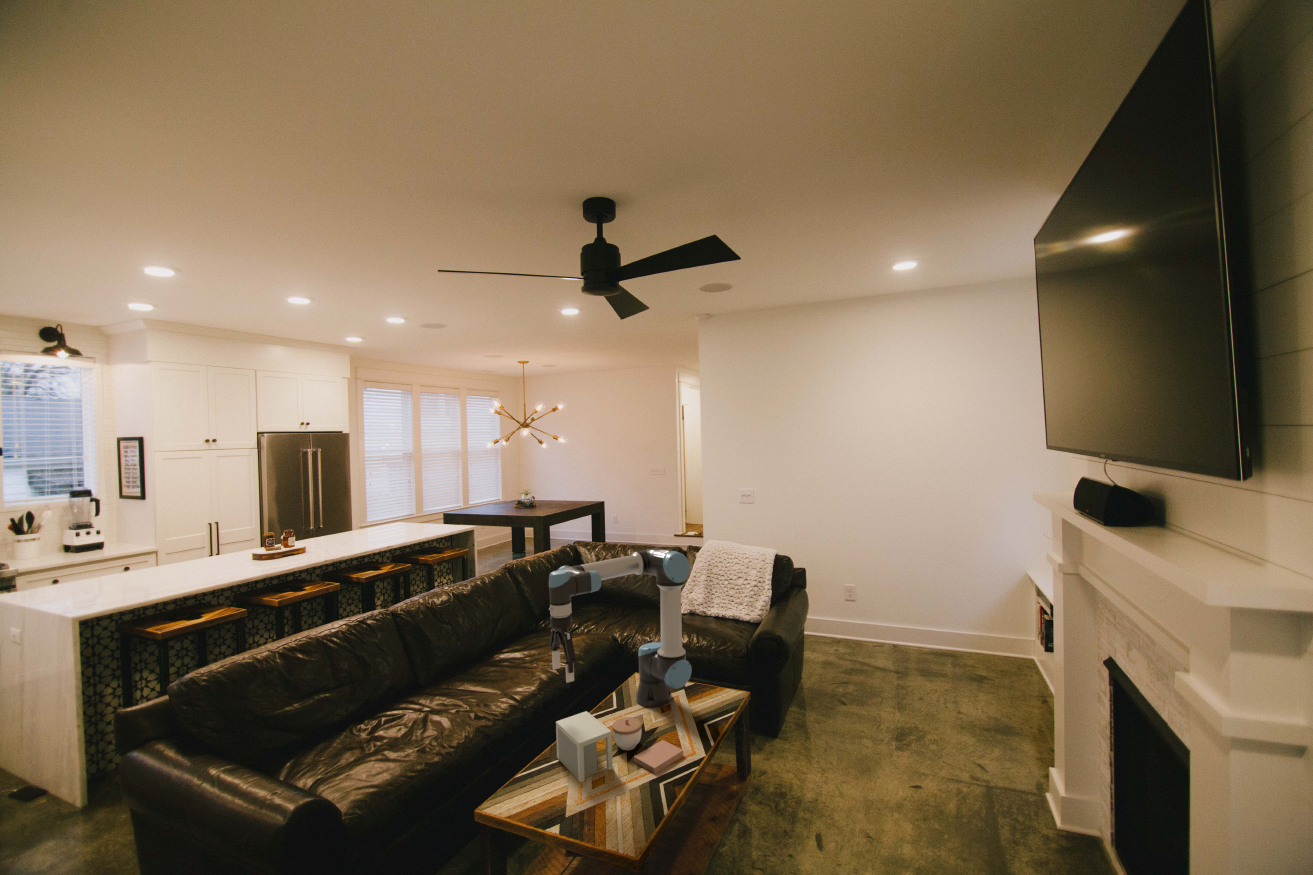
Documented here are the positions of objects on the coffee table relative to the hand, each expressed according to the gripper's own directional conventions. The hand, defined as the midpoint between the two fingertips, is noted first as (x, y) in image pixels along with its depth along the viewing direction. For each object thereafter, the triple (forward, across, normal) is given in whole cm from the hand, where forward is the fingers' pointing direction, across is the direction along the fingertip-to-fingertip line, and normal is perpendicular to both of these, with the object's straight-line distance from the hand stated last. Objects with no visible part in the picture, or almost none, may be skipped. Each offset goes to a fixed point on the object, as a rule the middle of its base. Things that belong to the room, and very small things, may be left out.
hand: (563, 674), depth 192 cm
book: (+28, +22, +25) cm, 44 cm away
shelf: (+27, +10, +3) cm, 29 cm away
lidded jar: (+28, +9, +20) cm, 35 cm away
